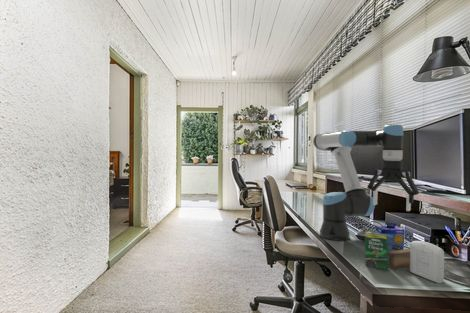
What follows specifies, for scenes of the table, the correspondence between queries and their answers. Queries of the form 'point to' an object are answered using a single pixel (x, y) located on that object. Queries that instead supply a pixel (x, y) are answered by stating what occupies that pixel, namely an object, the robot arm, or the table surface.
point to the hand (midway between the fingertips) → (391, 207)
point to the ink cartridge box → (392, 236)
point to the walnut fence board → (399, 259)
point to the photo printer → (427, 261)
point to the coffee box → (376, 250)
